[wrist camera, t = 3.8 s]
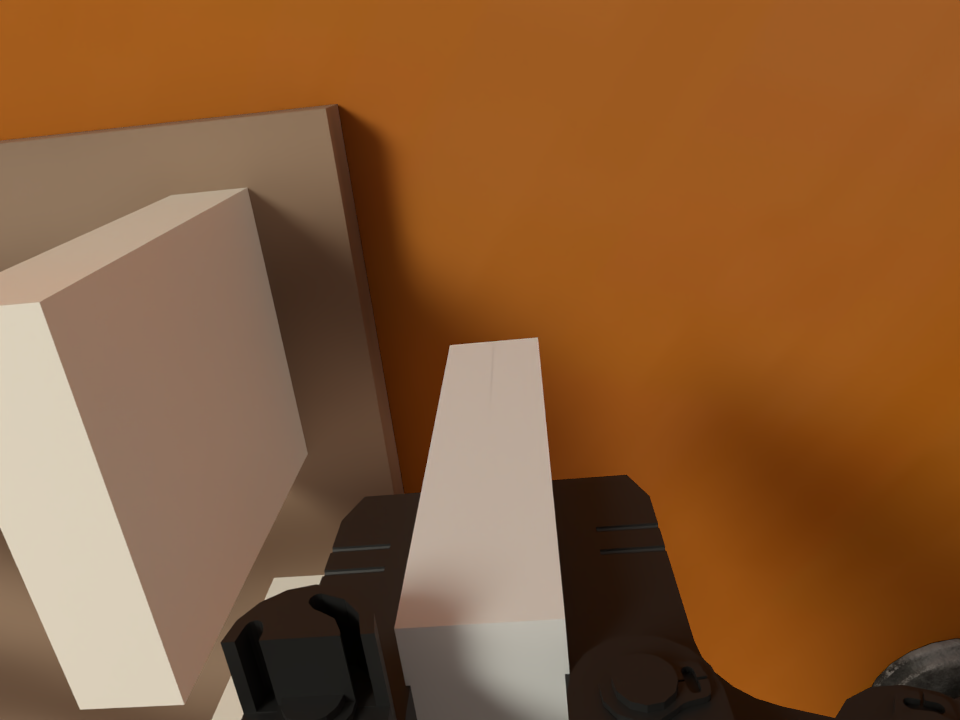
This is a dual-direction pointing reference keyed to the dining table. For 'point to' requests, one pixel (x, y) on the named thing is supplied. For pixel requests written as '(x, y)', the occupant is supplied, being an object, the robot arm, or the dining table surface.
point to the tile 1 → (143, 439)
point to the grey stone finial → (927, 669)
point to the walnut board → (302, 322)
